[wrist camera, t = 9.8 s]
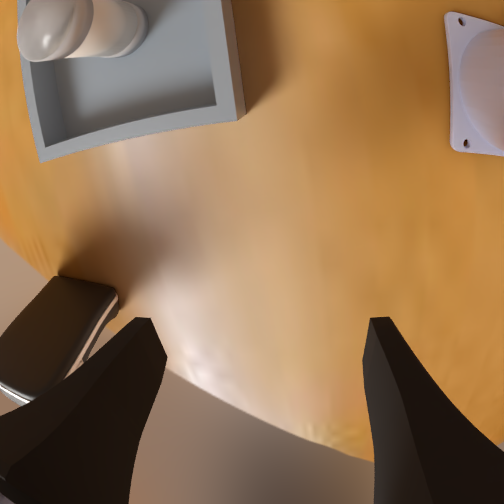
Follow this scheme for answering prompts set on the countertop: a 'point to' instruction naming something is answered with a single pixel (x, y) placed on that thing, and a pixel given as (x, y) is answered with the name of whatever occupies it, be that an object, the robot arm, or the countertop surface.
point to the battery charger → (53, 336)
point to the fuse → (80, 29)
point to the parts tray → (139, 81)
